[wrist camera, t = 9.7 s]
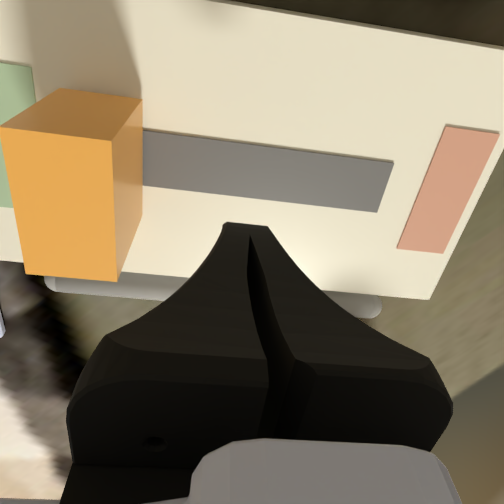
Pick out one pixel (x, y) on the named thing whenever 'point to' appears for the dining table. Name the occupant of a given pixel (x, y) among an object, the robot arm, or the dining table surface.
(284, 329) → the robot arm
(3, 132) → the block
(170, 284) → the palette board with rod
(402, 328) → the dining table surface
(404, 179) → the breaker panel
